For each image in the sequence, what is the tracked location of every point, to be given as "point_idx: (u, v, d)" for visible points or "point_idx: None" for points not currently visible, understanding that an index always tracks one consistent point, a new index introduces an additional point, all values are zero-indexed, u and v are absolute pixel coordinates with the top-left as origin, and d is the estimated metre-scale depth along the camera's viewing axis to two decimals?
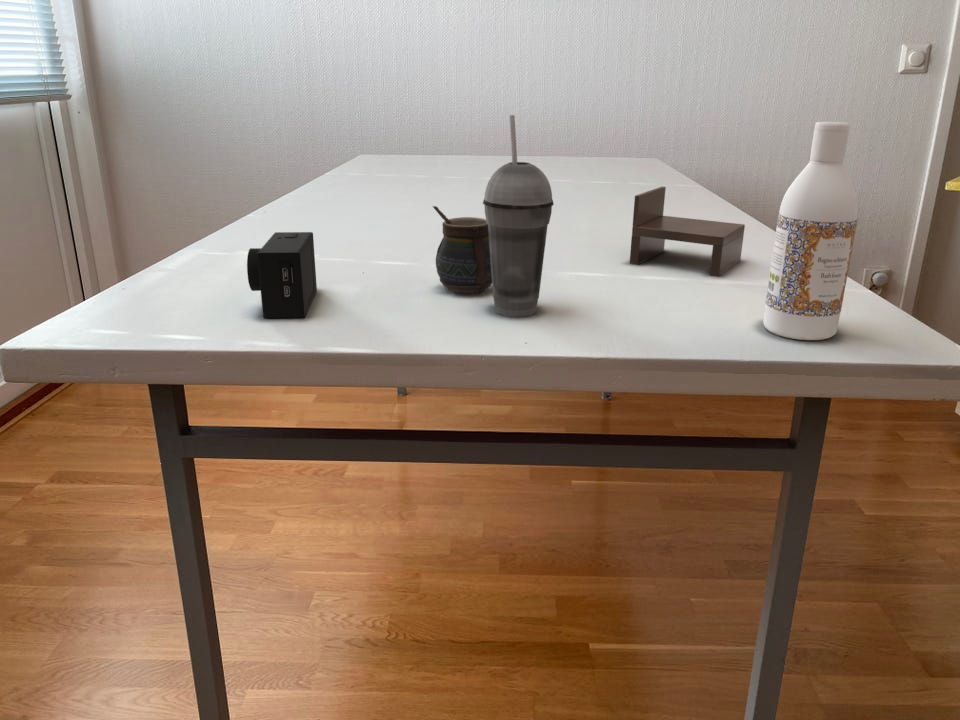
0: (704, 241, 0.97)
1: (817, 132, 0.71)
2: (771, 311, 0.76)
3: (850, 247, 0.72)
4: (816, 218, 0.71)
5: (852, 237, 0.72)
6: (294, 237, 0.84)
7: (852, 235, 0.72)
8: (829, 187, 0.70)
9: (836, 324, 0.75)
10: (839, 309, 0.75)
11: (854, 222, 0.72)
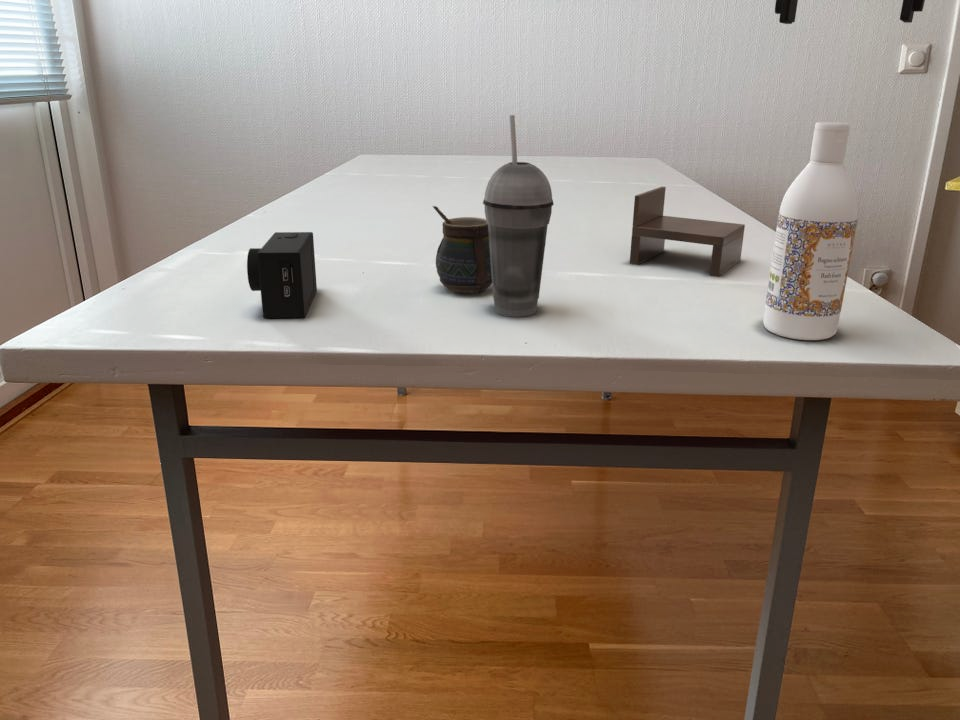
0: (704, 241, 0.97)
1: (817, 132, 0.71)
2: (771, 311, 0.76)
3: (850, 247, 0.72)
4: (816, 218, 0.71)
5: (852, 237, 0.72)
6: (294, 237, 0.84)
7: (852, 235, 0.72)
8: (829, 187, 0.70)
9: (836, 324, 0.75)
10: (839, 309, 0.75)
11: (854, 222, 0.72)
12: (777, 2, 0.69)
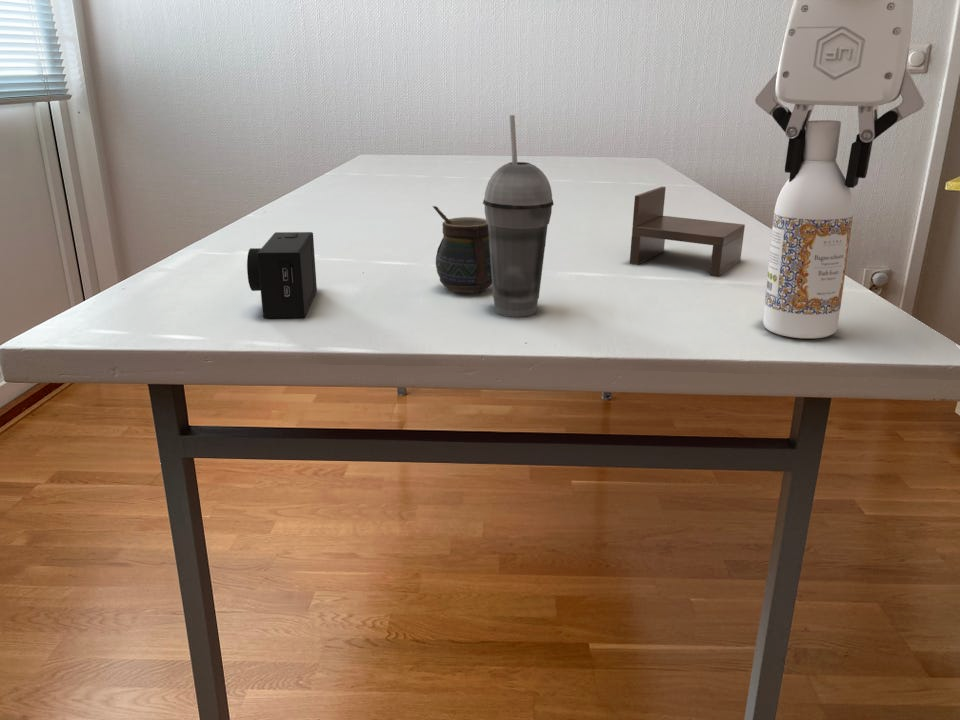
0: (704, 241, 0.97)
1: (809, 130, 0.71)
2: (770, 310, 0.76)
3: (846, 244, 0.73)
4: (810, 216, 0.71)
5: (848, 234, 0.72)
6: (294, 237, 0.84)
7: (848, 232, 0.72)
8: (823, 185, 0.71)
9: (836, 322, 0.75)
10: (838, 306, 0.75)
11: (849, 219, 0.72)
12: (787, 163, 0.73)
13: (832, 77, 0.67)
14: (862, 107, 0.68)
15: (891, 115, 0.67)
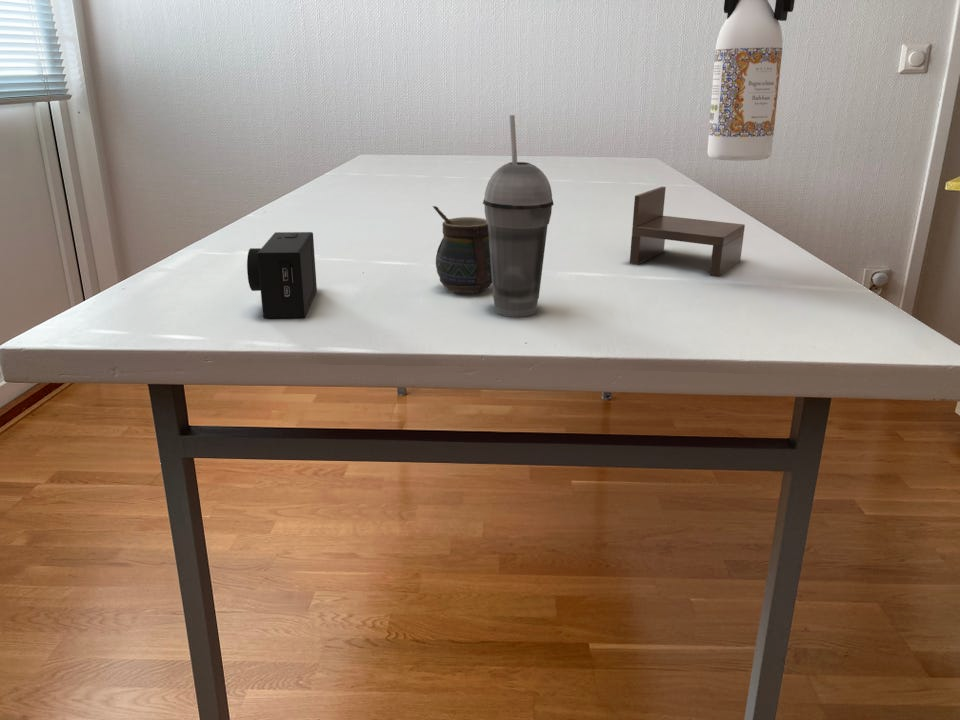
0: (704, 241, 0.97)
1: None
2: (712, 138, 0.87)
3: (777, 73, 0.83)
4: (744, 45, 0.82)
5: (778, 63, 0.83)
6: (294, 237, 0.84)
7: (778, 61, 0.83)
8: (755, 17, 0.81)
9: (769, 147, 0.86)
10: (771, 131, 0.85)
11: (778, 49, 0.82)
12: (725, 3, 0.84)
13: None
14: None
15: None
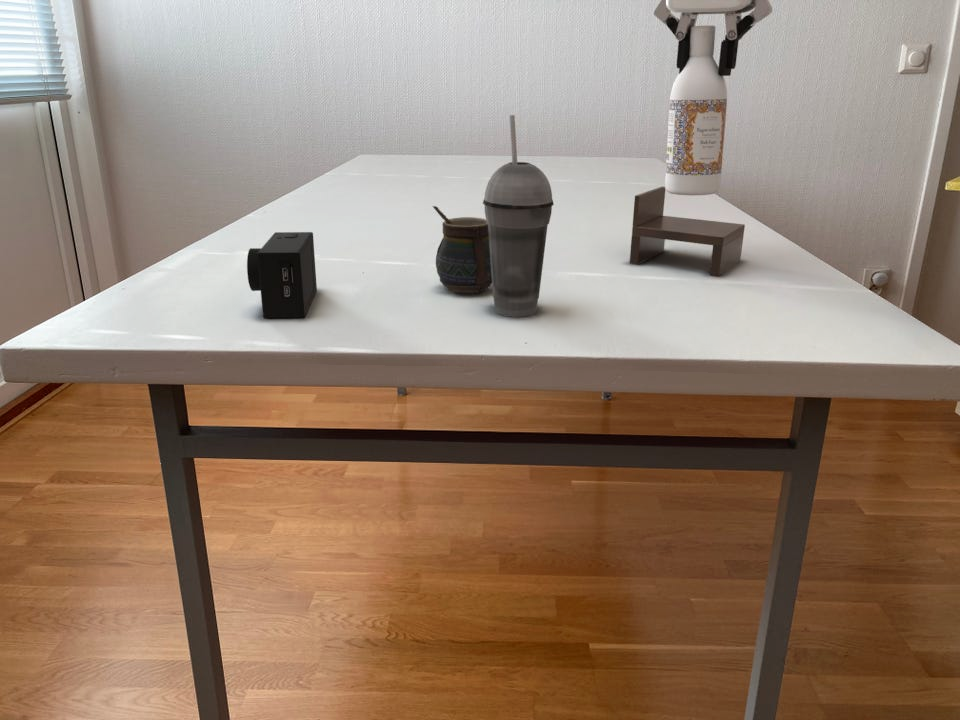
0: (704, 241, 0.97)
1: (692, 33, 0.95)
2: (668, 176, 1.00)
3: (722, 120, 0.96)
4: (693, 97, 0.95)
5: (723, 112, 0.96)
6: (294, 237, 0.84)
7: (722, 111, 0.96)
8: (702, 73, 0.94)
9: (717, 183, 0.99)
10: (718, 170, 0.98)
11: (723, 101, 0.95)
12: (678, 60, 0.97)
13: None
14: (727, 13, 0.92)
15: (748, 18, 0.91)
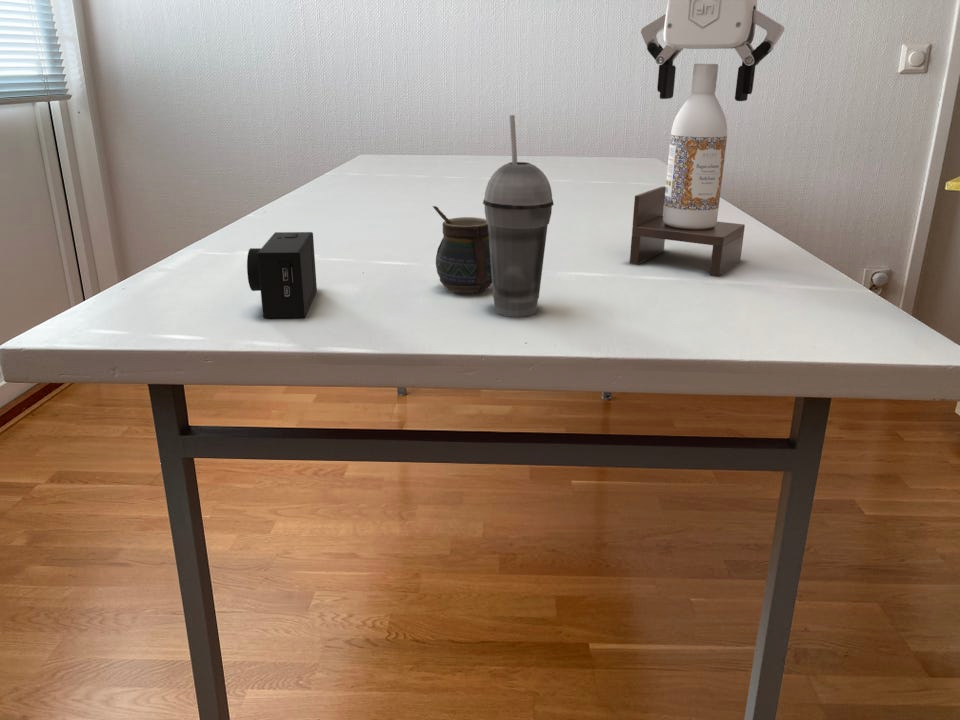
0: (704, 241, 0.97)
1: (695, 70, 0.96)
2: (666, 209, 1.01)
3: (721, 157, 0.98)
4: (693, 134, 0.96)
5: (722, 149, 0.97)
6: (294, 237, 0.84)
7: (722, 148, 0.97)
8: (703, 111, 0.95)
9: (714, 218, 1.00)
10: (716, 206, 1.00)
11: (723, 138, 0.97)
12: (658, 84, 0.99)
13: (701, 27, 0.92)
14: None
15: (765, 44, 0.91)
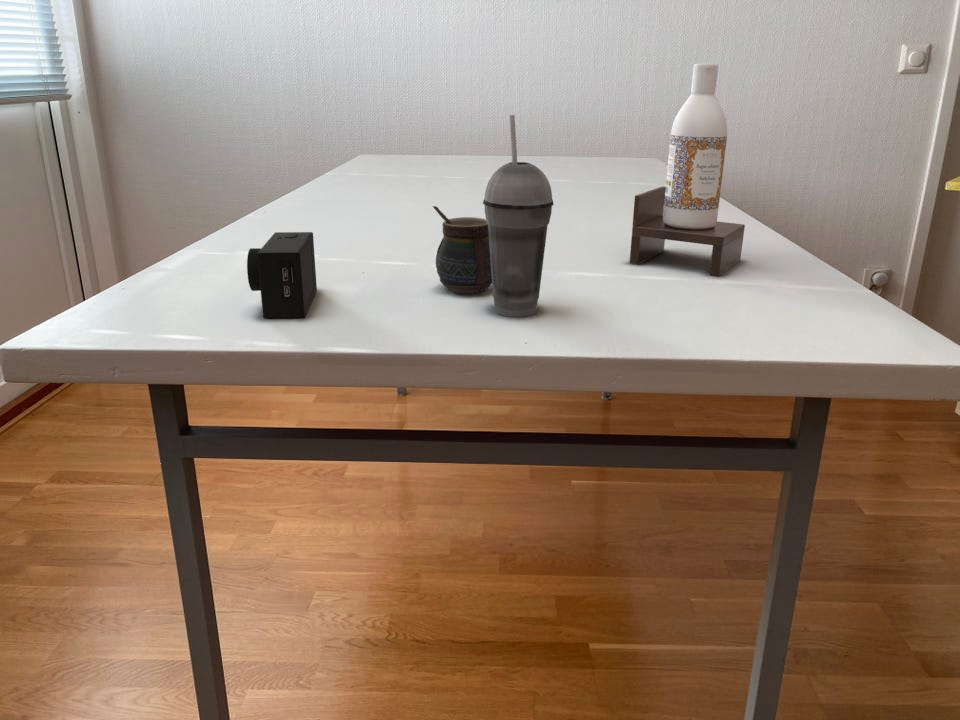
0: (704, 241, 0.97)
1: (695, 70, 0.96)
2: (666, 209, 1.01)
3: (721, 157, 0.98)
4: (693, 134, 0.96)
5: (722, 149, 0.97)
6: (294, 237, 0.84)
7: (722, 148, 0.97)
8: (703, 111, 0.95)
9: (714, 218, 1.00)
10: (716, 206, 1.00)
11: (723, 138, 0.97)
12: None
13: None
14: None
15: None
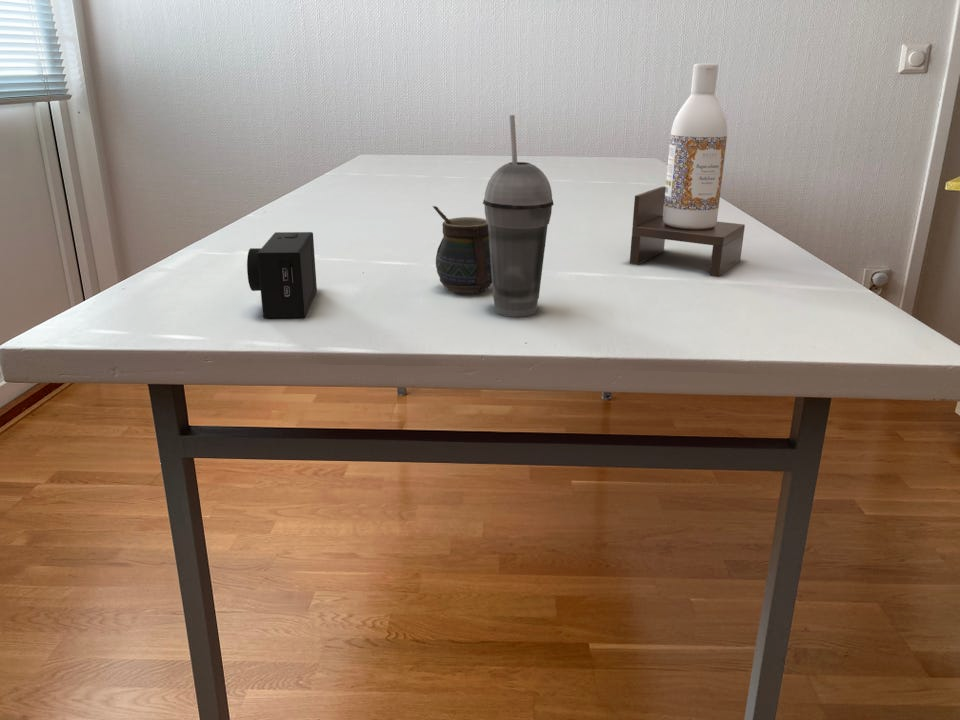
0: (704, 241, 0.97)
1: (695, 70, 0.96)
2: (666, 209, 1.01)
3: (721, 157, 0.97)
4: (693, 134, 0.96)
5: (722, 149, 0.97)
6: (294, 237, 0.84)
7: (722, 148, 0.97)
8: (703, 111, 0.95)
9: (714, 218, 1.00)
10: (716, 206, 1.00)
11: (723, 138, 0.97)
12: None
13: None
14: None
15: None
